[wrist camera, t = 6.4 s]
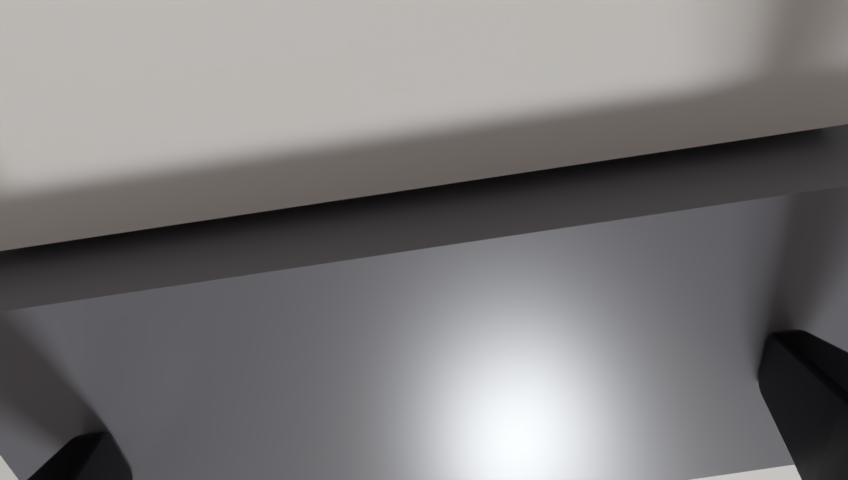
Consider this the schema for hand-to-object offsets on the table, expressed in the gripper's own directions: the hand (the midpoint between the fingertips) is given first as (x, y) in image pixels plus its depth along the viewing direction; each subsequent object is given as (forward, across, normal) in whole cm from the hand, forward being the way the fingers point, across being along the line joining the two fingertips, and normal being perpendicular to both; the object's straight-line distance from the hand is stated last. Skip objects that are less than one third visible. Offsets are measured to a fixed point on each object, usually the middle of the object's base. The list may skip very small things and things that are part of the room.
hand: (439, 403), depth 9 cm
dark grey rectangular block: (+4, 0, 0) cm, 4 cm away
